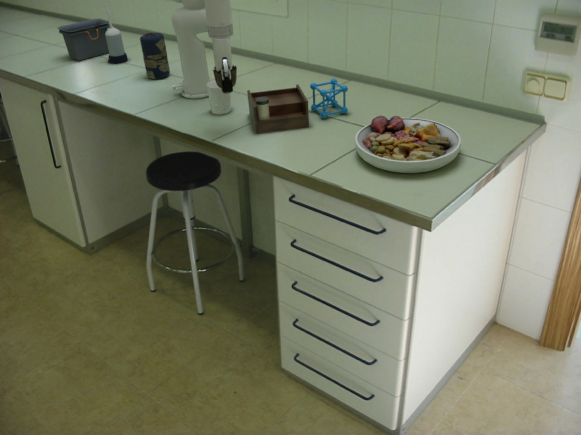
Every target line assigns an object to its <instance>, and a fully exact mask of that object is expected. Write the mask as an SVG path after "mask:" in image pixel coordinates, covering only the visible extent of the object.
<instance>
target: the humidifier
mask: <svg viewBox="0 0 581 435" xmlns="http://www.w3.org/2000/svg"><path fill="white" fill-rule="evenodd" d="M104 5H105V9H106V15H107V21H109V23H108V24H109V27H108V28H107V31H106V33H105V35H106V41H107V46H108V50H109V53H108V59H107V60H108V62H109V64H111V65H119V64H124V63H127V62H128V61H129V59H128V55H127V52H126V51H125V47H124V46H125V45H124V42H123V37H122V33H121V31H120V30H119V29H118V28H117V27H116V24H115V23H113V24H112V21H111V14H113V12H112V11H113V10H112V9H110V10H111V11H109V8H112V5H111V4H109V6H110V7H108V4H107V2H106V3H104ZM110 13H111V14H110ZM112 20H113V22H115V19H114V18H112ZM113 25H114V26H113ZM115 27H116V28H115Z"/></svg>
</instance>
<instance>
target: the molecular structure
mask: <svg viewBox="0 0 581 435" xmlns="http://www.w3.org/2000/svg"><path fill="white" fill-rule="evenodd" d="M327 85H331V87H330V90H326V89H320V88H319V87H322V86H327ZM336 86H337V87H338V88H336ZM309 87H310V90H312V104H311V106H310V109H311V111H312V112H318V113H319V114H320V117H321V119H324V120H325V119H327V118H328V116H331V115H335V114H342V115H346V114H348V112H349V109H348V107H346V103H347V102H346V100H347V99H346V93H347V92H348V90H349V88H348V86H347V85H346V84H344V85H341V84H340V83H339V82H338V79H336V78H331V79H330V81H325V82H321V83H316V82H311V83H310V85H309ZM316 91H317V92H318V93H319V96H320V97H322V101H320V102H319V103H317V104H316ZM340 93H342V99H343V100H342V105H343V107H342V106H341V105H340V104H339V103H338V100H336V96H337V95H339V94H340ZM329 106H331V107H334V108H335V107H337V108H338V109H339V110H335V111H331V112H327V110H328V108H329ZM319 108H322V111H321V110H320V109H319Z"/></svg>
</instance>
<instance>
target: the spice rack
mask: <svg viewBox="0 0 581 435" xmlns="http://www.w3.org/2000/svg"><path fill="white" fill-rule="evenodd" d="M246 92H247V102H248V103H247V104H248V112H249V118H250V121H251V124H252V127H253V129H254V130H253V131H254V133H255V134H256V135H257V134H264V133H265V134H266V133H272V132H281V131H287V130H296V129H303V128H310V117H309V116H310V115H309V100H308V98H307V97H306V95H305V93H304V91H303V89H302V88H301V87H300V84H298V83H297V84H296V85H295V87H288V88H280V89H270V90H264V91H253V92H251V90H250V89H248V90H247V91H246ZM258 97H267V98H268V99H269V115H270V119H267V120H259V121H258V119H257V108H256V101H255V99H256V98H258Z"/></svg>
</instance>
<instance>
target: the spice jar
mask: <svg viewBox="0 0 581 435" xmlns="http://www.w3.org/2000/svg"><path fill="white" fill-rule="evenodd" d="M255 101H256V108H257V119H258V121H259V120H267V119H270V115H269V99H268V98H267V97H258V98H256V99H255Z"/></svg>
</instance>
